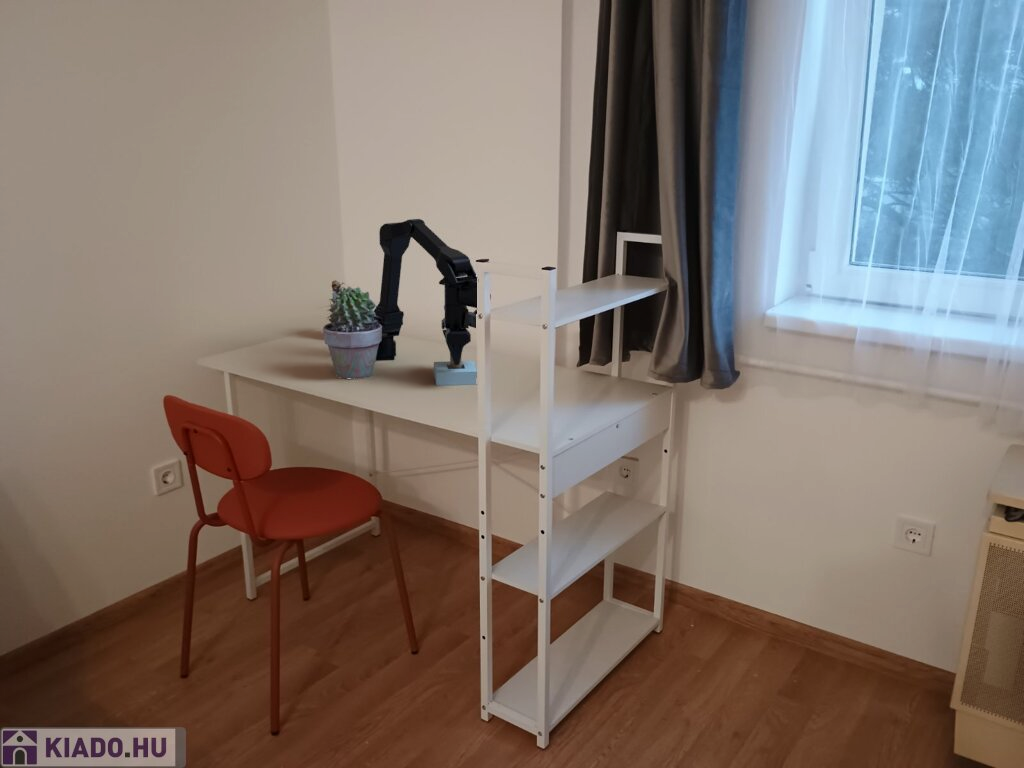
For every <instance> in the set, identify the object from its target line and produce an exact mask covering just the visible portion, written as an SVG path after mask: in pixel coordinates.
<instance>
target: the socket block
mask: <svg viewBox="0 0 1024 768" xmlns="http://www.w3.org/2000/svg"><path fill="white" fill-rule="evenodd" d="M476 367H477V364H476V362H475V361H474V360H462V369H450V361H433V377H434V381H435V385H436V386H437V387H438V386H466V385H467V386H469V385H477V384H476V378H477V369H478V367H477V368H476Z"/></svg>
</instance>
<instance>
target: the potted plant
mask: <svg viewBox="0 0 1024 768" xmlns="http://www.w3.org/2000/svg"><path fill="white" fill-rule="evenodd" d="M342 285H346V284H345V282H341V283H340V281H338V280H333V281H331V288H332V293H333V292H335V293H336V294H337V295H336V299H333V297H332V298H329V299H328V300H329V302H330V303H329V304H330V305H329V307H330V308H329V309H328V310H326V312H330V313H329V316H328V317H326V319H328V321H329V322H330V323H327V324H325V325H324V326H323V327H322V330H323V338H324V344H325V345H327V349H328V351H329V355H330V358H331V359H330V360H331V362H332V367H333V369H334V372H335V373H334V374H335V376H336V375H337V376H338V377H337V376H336V377H337V378H339V377H341V378H340V379H343V378H351V379H350V380H357V379H356V378H362V379H366V378H369V376H370V377H371V376H373V375H374V370H375V365H376V361H377V360H376V355H377V351H378V346H379V343H380V342H381V339H382V327H383V326H381V324H379V323H378V320H375V319H374V317H378V316H376V314H375V312H374V310H376V309H375V308H376V307H378V306H377V304H378V302H376V301H375V302H374V301H373V300H372V299H371V298H370V293H369V291H366V292H363V291H362V290H361V288H360V287H359V286H357V287H356V290H355V289H353V288H352V287H351V286H350V285H348V287H347V288H346V287H343V286H342ZM346 286H347V285H346ZM342 289H343V291H342ZM343 292H344V293H343ZM331 302H332V303H331ZM333 303H334V304H333ZM376 303H377V304H376ZM382 304H383V303H382ZM325 307H328V305H327V306H325ZM319 308H322V306H320V307H318V309H319ZM380 308H381V307H380ZM379 318H380V317H379ZM384 323H385V322H384ZM389 324H390V323H389ZM365 377H366V378H365ZM354 378H355V379H354Z"/></svg>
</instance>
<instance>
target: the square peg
mask: <svg viewBox="0 0 1024 768" xmlns="http://www.w3.org/2000/svg"><path fill="white" fill-rule="evenodd" d="M449 360H450V369H462V361H463V360H462V358H461V359H460V363H459V365H455V364H454V361H453V359H452V356H451V354H450V353H449Z"/></svg>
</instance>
